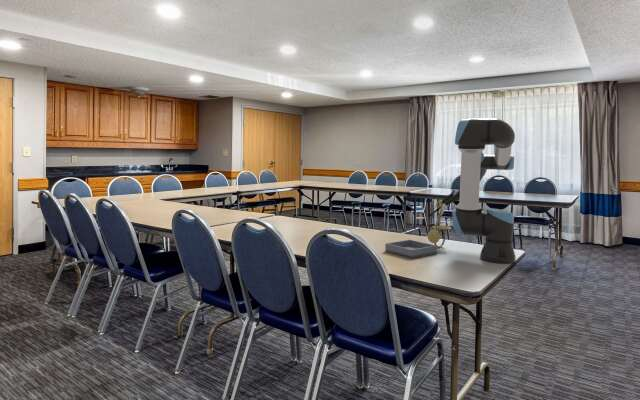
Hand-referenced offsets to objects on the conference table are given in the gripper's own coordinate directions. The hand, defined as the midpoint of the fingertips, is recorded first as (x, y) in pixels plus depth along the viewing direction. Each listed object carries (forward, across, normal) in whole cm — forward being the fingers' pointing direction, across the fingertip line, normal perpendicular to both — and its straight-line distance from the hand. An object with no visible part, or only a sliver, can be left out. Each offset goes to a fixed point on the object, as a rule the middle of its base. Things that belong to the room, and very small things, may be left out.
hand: (450, 215), depth 225 cm
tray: (+32, 0, +9) cm, 33 cm away
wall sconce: (+18, -1, -5) cm, 19 cm away
